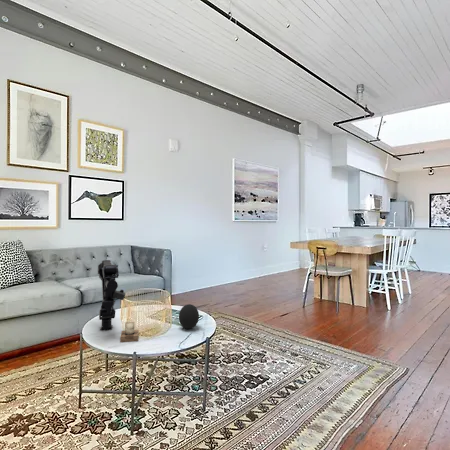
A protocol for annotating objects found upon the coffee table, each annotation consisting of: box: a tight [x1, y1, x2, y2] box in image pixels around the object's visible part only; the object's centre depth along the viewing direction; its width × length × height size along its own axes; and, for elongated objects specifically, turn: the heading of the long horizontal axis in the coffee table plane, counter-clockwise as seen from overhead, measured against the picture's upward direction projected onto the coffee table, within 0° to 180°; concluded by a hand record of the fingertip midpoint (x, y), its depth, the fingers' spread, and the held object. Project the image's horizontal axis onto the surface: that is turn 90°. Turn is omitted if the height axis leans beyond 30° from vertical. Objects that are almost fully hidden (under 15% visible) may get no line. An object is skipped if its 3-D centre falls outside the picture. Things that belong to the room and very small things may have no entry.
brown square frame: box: [119, 329, 140, 343], centre depth 182 cm, size 9×9×3 cm
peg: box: [124, 320, 136, 335], centre depth 182 cm, size 5×5×9 cm
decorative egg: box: [178, 303, 200, 330], centre depth 200 cm, size 12×12×15 cm
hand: (109, 314), depth 185 cm, fingers closed
